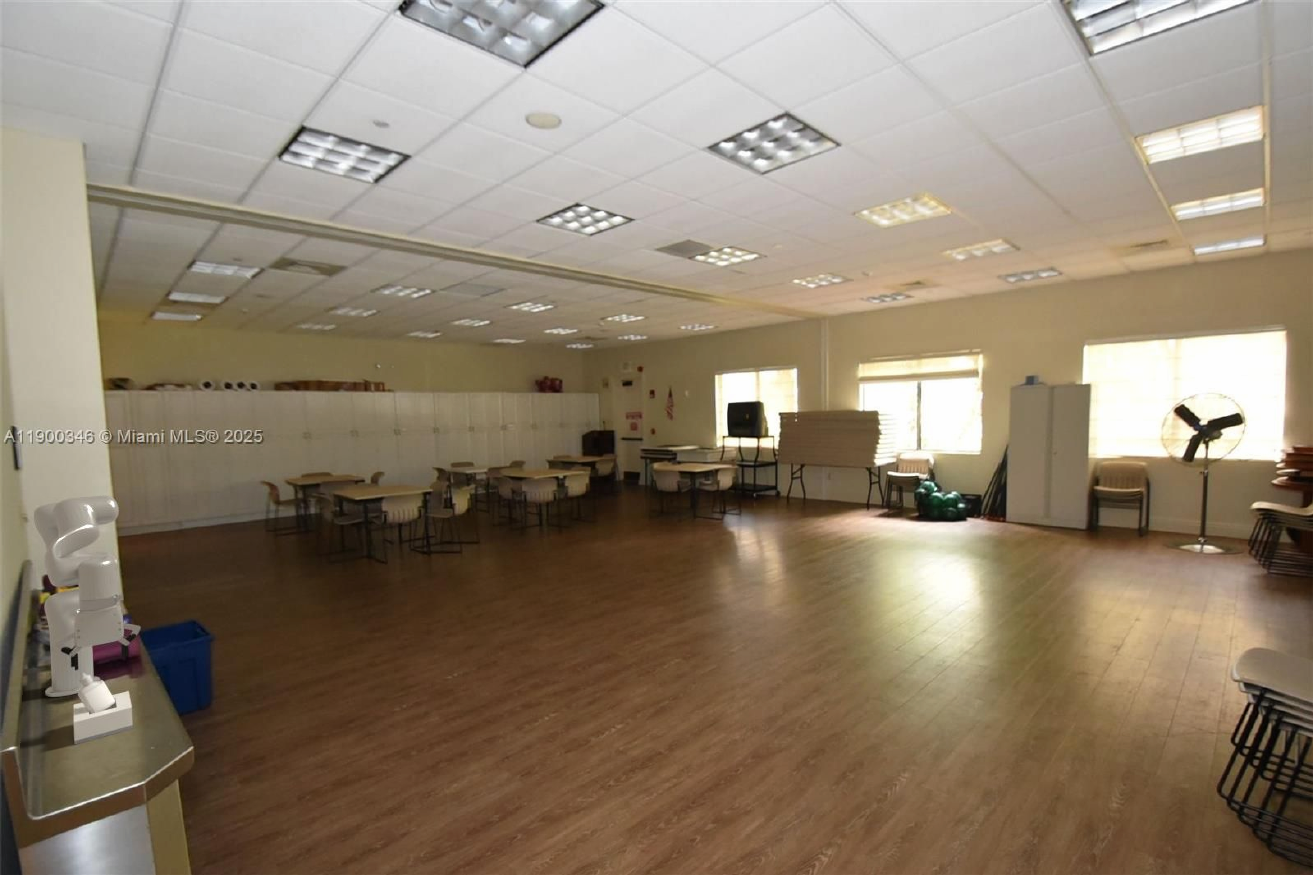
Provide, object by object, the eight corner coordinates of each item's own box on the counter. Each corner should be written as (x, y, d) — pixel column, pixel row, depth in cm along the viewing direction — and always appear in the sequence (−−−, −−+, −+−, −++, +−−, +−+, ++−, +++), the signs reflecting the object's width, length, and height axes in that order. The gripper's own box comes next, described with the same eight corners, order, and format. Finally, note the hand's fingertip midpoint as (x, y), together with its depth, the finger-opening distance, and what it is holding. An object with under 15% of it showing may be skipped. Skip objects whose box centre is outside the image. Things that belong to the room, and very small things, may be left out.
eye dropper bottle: (116, 704, 167) (95, 668, 164) (90, 718, 163) (68, 681, 161) (115, 700, 170) (94, 664, 167) (90, 713, 166) (68, 677, 164)
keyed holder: (74, 725, 168) (73, 704, 168) (129, 711, 176) (128, 691, 176) (74, 744, 158) (73, 722, 158) (132, 728, 166) (131, 707, 166)
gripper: (138, 593, 175) (140, 651, 175) (54, 607, 162) (56, 668, 163) (140, 599, 169) (142, 658, 170) (53, 613, 157) (56, 677, 158)
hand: (100, 663), depth 167 cm, fingers open, 9 cm apart
